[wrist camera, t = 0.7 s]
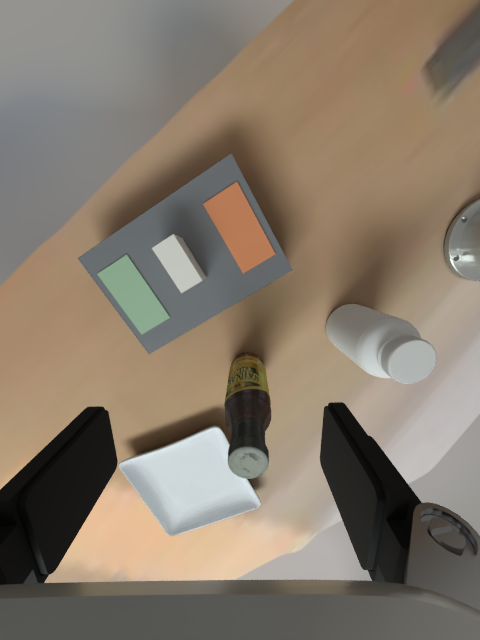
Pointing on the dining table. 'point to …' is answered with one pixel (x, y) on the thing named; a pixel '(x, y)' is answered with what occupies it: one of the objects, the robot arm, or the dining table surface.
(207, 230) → the switch box
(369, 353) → the pill bottle
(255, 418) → the sauce bottle
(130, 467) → the salad plate
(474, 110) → the dining table surface
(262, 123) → the dining table surface
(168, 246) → the switch knob
